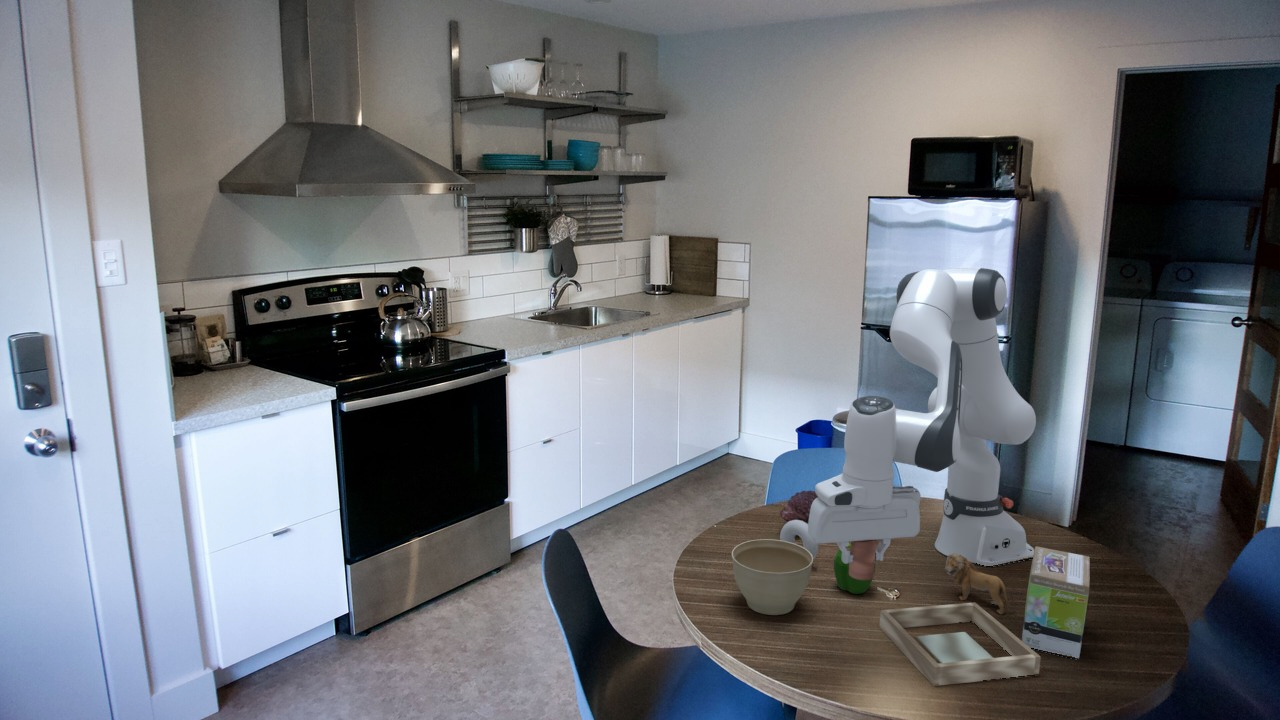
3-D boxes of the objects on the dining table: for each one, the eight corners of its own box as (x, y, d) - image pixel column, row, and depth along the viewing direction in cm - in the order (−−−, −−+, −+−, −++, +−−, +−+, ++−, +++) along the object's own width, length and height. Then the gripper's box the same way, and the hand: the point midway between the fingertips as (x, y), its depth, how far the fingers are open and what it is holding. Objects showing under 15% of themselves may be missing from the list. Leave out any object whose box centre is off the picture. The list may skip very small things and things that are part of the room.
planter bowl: (762, 579, 181) (764, 532, 179) (825, 605, 170) (829, 555, 168) (713, 603, 170) (715, 553, 168) (778, 633, 159) (781, 580, 157)
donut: (820, 567, 187) (823, 525, 185) (810, 572, 185) (813, 529, 183) (785, 553, 195) (787, 512, 193) (775, 557, 192) (777, 516, 190)
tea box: (1080, 662, 151) (1090, 585, 148) (1020, 647, 155) (1028, 573, 152) (1081, 625, 164) (1090, 554, 161) (1025, 612, 168) (1033, 543, 165)
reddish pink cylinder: (867, 568, 154) (869, 532, 153) (878, 579, 150) (880, 542, 149) (844, 570, 153) (847, 534, 152) (855, 581, 149) (857, 544, 148)
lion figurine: (938, 595, 175) (942, 555, 173) (947, 587, 179) (951, 547, 177) (1011, 619, 166) (1016, 576, 164) (1020, 609, 170) (1024, 568, 168)
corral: (973, 618, 165) (975, 602, 165) (1038, 675, 146) (1040, 656, 146) (879, 627, 162) (880, 610, 161) (933, 686, 142) (935, 667, 142)
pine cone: (804, 514, 219) (806, 477, 217) (839, 524, 212) (842, 486, 210) (769, 534, 205) (771, 496, 203) (806, 545, 199) (808, 505, 197)
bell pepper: (880, 588, 178) (884, 544, 176) (861, 601, 172) (864, 556, 170) (845, 576, 183) (848, 533, 181) (825, 588, 177) (828, 544, 175)
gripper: (912, 479, 153) (906, 549, 156) (806, 485, 150) (802, 557, 152) (930, 491, 147) (923, 564, 150) (820, 497, 144) (816, 572, 146)
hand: (862, 561), depth 151 cm, fingers closed on reddish pink cylinder, 4 cm apart
